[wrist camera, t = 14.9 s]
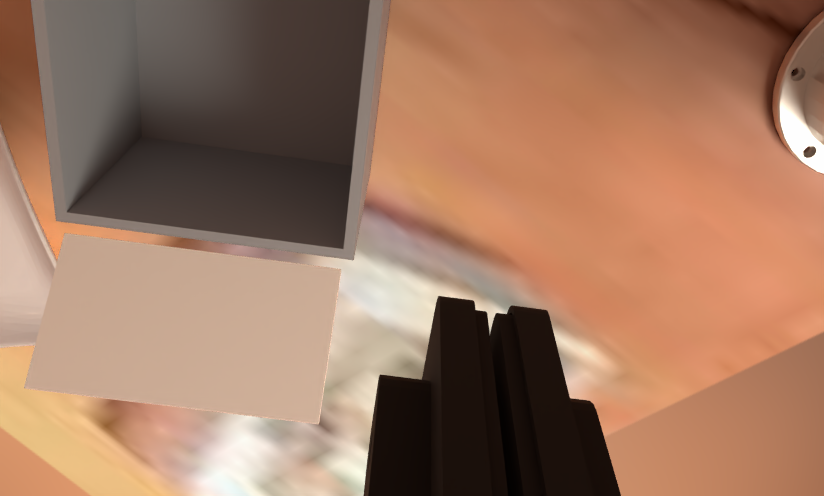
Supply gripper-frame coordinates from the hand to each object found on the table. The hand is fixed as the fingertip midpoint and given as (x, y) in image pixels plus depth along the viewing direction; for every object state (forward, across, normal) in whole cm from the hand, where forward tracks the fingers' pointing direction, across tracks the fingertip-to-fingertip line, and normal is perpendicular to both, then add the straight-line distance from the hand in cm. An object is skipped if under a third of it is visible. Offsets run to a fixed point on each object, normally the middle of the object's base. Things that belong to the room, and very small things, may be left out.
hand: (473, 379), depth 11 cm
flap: (+22, +11, +16) cm, 29 cm away
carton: (+37, +11, +4) cm, 39 cm away
